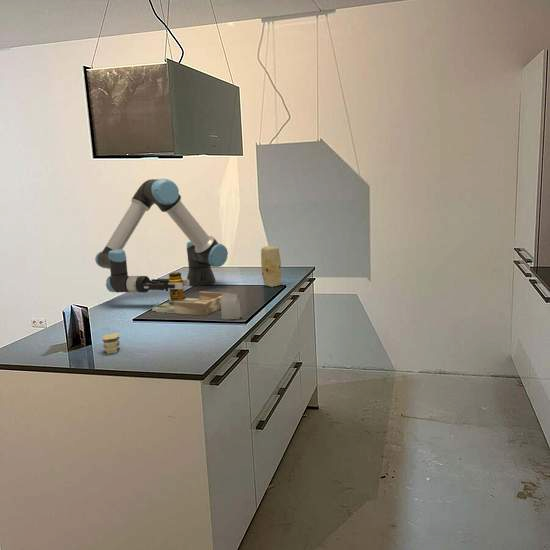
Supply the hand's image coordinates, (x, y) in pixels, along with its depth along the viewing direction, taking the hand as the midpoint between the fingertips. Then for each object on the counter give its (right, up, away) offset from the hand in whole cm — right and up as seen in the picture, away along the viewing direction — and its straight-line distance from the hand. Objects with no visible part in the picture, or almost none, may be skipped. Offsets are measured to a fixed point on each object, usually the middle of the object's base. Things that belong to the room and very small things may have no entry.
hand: (185, 284), depth 261 cm
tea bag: (+22, -14, -22) cm, 34 cm away
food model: (+38, -2, +35) cm, 51 cm away
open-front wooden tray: (+3, -10, 0) cm, 11 cm away
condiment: (-4, -7, +4) cm, 9 cm away
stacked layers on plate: (-17, -23, -55) cm, 62 cm away
